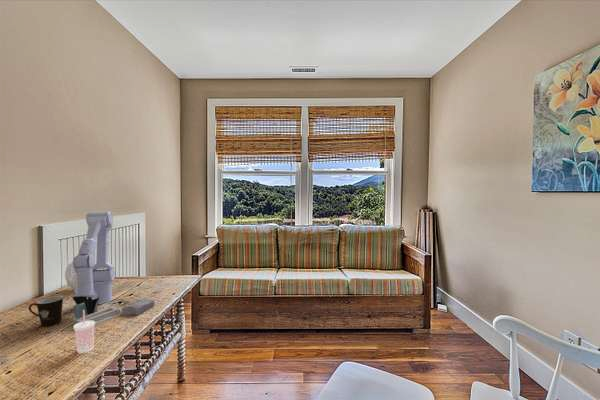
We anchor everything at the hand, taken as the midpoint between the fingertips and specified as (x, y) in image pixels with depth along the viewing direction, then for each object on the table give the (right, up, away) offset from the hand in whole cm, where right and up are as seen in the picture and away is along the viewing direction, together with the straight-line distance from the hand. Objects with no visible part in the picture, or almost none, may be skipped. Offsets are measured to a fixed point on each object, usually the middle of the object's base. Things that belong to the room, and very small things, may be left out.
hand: (86, 312), depth 135 cm
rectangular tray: (+8, -2, -5) cm, 10 cm away
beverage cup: (+19, -3, -28) cm, 34 cm away
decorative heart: (-27, 0, +34) cm, 43 cm away
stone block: (+19, -1, +6) cm, 20 cm away
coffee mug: (-11, -2, -6) cm, 13 cm away
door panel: (0, -2, 0) cm, 2 cm away
